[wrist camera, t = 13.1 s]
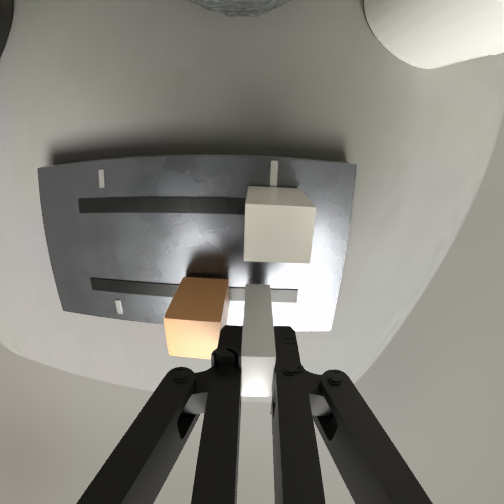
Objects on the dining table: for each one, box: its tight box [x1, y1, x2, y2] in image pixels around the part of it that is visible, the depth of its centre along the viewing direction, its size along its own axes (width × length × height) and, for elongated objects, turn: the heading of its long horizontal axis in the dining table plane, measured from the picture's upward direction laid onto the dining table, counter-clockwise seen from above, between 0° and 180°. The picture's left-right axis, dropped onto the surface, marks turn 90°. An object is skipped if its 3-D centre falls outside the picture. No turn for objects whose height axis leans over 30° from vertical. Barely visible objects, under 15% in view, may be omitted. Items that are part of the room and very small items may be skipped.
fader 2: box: [244, 186, 316, 264], centre depth 15 cm, size 3×3×5 cm
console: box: [38, 154, 356, 331], centre depth 19 cm, size 22×12×2 cm, turn 88°
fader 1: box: [163, 277, 229, 359], centre depth 17 cm, size 3×3×5 cm
